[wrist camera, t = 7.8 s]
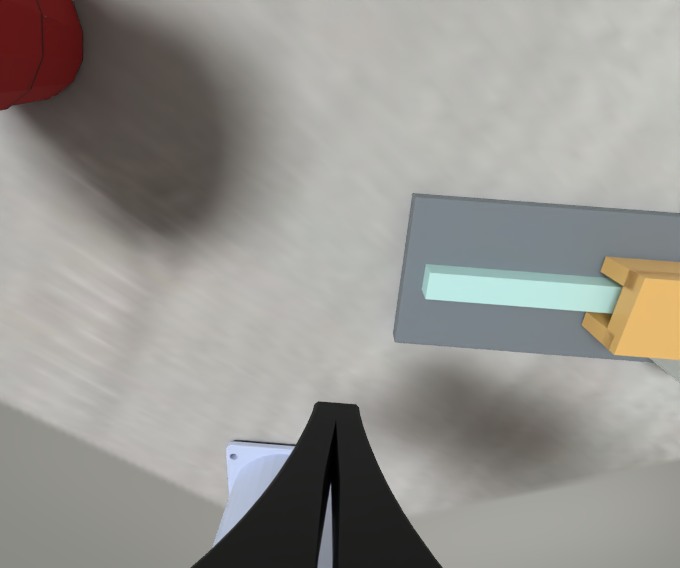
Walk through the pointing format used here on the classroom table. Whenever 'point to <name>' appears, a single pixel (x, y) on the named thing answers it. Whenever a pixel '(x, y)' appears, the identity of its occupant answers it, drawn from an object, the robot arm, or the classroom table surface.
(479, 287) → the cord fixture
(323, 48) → the classroom table surface
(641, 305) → the sleeve
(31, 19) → the plastic cup
